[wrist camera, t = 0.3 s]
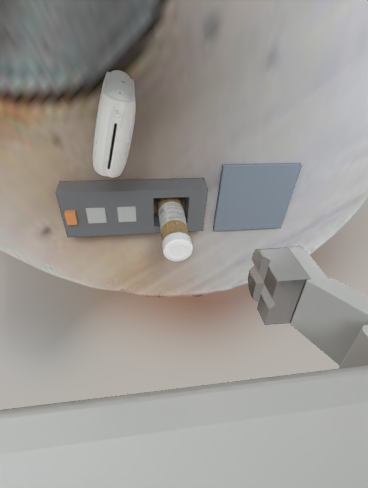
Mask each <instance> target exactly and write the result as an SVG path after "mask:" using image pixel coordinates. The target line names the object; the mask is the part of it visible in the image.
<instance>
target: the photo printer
mask: <svg viewBox="0 0 368 488" xmlns="http://www.w3.org/2000/svg"><path fill="white" fill-rule="evenodd" d="M135 112H136V101H135V87H134V79H131V78H130V76H129V75H128V74H127V73H125V72H123V71H120V70H114V71H111V72H107V73H106V76H105V78H104V82H103V86H102V91H101V96H100V101H99V107H98V113H97V119H96V127H95V135H94V144H93V167H94V170H95V171H96V172H97V173H98V174H100V175H102V176H108V177H111V178H114V177H118V176H120V175H121V173H122V172H123V170H124V168H125V165H126V162H127V158H128V154H129V150H130V145H131V140H132V135H133V129H134V123H135Z"/></svg>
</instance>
